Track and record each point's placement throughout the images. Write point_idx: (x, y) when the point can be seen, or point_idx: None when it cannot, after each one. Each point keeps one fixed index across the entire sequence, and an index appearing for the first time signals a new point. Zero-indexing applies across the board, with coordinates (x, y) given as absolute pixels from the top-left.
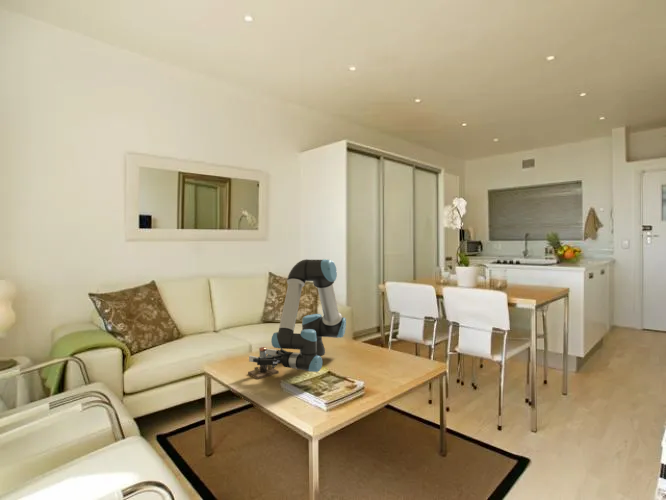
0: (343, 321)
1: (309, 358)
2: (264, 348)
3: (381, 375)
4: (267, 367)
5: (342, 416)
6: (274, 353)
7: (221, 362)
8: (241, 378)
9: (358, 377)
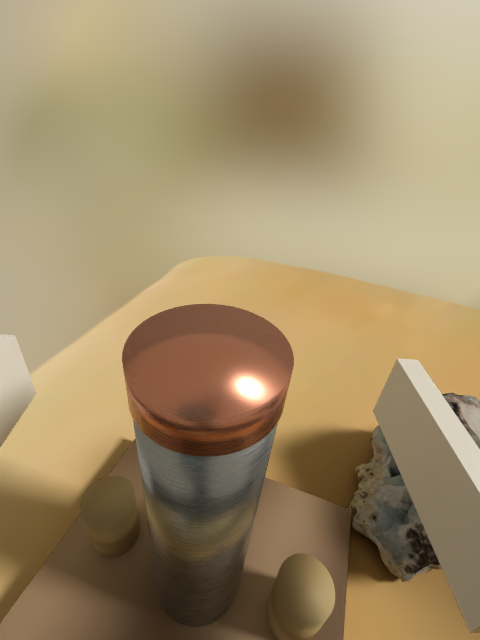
0: None
1: None
2: (190, 388)
3: None
4: (321, 530)
5: None
6: (466, 569)
7: (257, 266)
8: (26, 455)
9: None
